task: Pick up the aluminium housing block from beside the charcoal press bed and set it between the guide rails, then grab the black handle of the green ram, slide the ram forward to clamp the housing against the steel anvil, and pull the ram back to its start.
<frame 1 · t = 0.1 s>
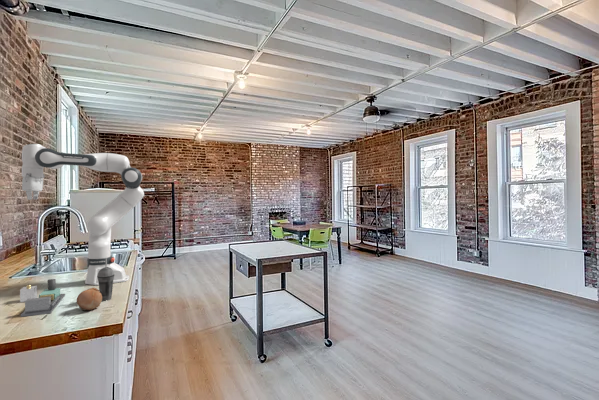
hand: (32, 199, 168), 48 cm above the counter, fingers open, 8 cm apart
press: (45, 305, 142), on the counter
ram: (49, 289, 149), point 5 cm above the counter, slide at 0.0 cm
onion: (89, 309, 138), on the counter
beverage cup: (105, 299, 151), on the counter
housing: (28, 300, 149), on the counter
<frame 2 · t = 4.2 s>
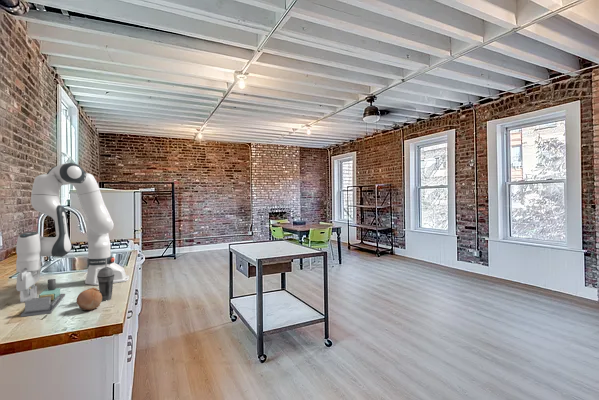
hand: (28, 295, 149), 2 cm above the counter, fingers closed on housing, 5 cm apart
housing: (28, 300, 149), on the counter, touching gripper
everything else where it was.
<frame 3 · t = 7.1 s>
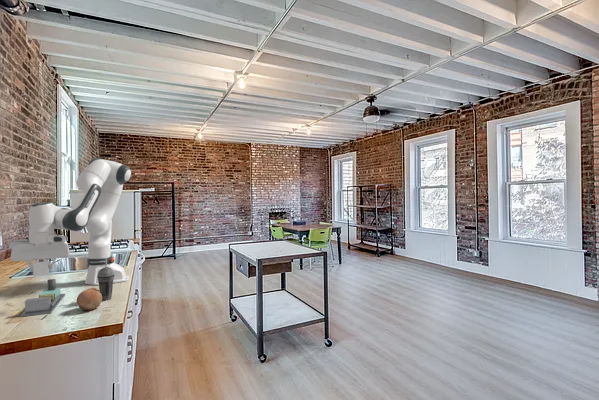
hand: (41, 269, 139), 17 cm above the counter, fingers closed on housing, 5 cm apart
housing: (41, 274, 139), point 15 cm above the counter, touching gripper
everything else where it was.
when the fingers open (4 cm above the counter, at t = 10.3 s): housing stays where it is, resting on press.
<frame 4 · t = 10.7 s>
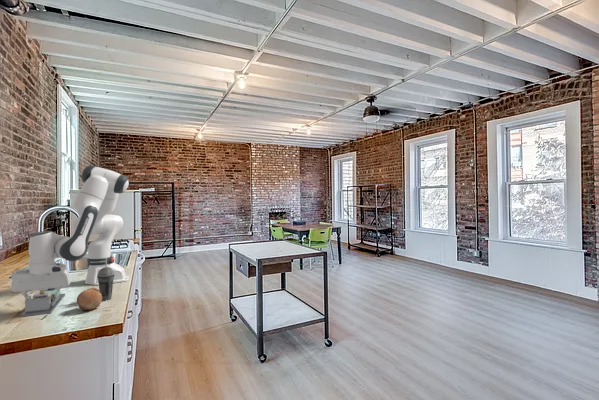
hand: (41, 299, 138), 4 cm above the counter, fingers open, 8 cm apart
housing: (41, 306, 138), point 1 cm above the counter, touching press
everything else where it was.
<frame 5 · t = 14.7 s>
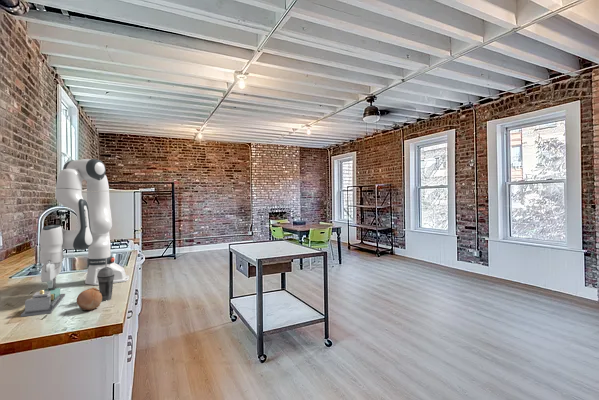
hand: (51, 286, 152), 6 cm above the counter, fingers closed on ram, 3 cm apart
ram: (49, 289, 149), point 5 cm above the counter, slide at 0.0 cm, touching gripper
everything else where it was.
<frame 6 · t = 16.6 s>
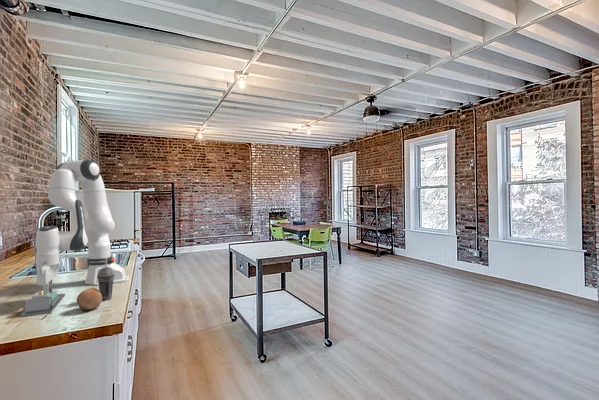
hand: (47, 289, 147), 6 cm above the counter, fingers closed on ram, 3 cm apart
ram: (46, 293, 144), point 5 cm above the counter, slide at 5.9 cm, touching gripper, housing
housing: (41, 307, 137), point 1 cm above the counter, touching press, ram
everything else where it was.
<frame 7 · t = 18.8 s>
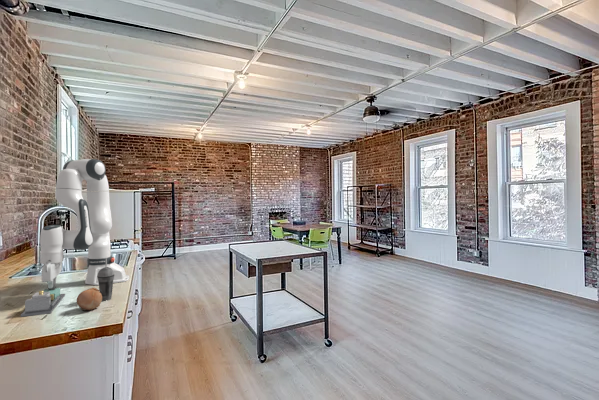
hand: (52, 286, 152), 6 cm above the counter, fingers closed on ram, 3 cm apart
ram: (49, 289, 149), point 5 cm above the counter, slide at 0.0 cm, touching gripper
housing: (41, 307, 137), point 1 cm above the counter, touching press
everything else where it was.
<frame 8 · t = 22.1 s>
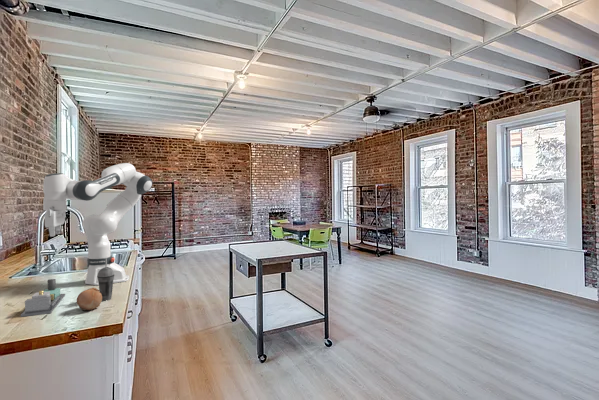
hand: (55, 235, 150), 31 cm above the counter, fingers open, 8 cm apart
ram: (49, 289, 149), point 5 cm above the counter, slide at 0.0 cm
everything else where it was.
at the end: housing 0.5 cm from the target spot on the press, point 1.0 cm above the press's base; housing tilted 0°; ram slide at 0.0 cm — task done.
